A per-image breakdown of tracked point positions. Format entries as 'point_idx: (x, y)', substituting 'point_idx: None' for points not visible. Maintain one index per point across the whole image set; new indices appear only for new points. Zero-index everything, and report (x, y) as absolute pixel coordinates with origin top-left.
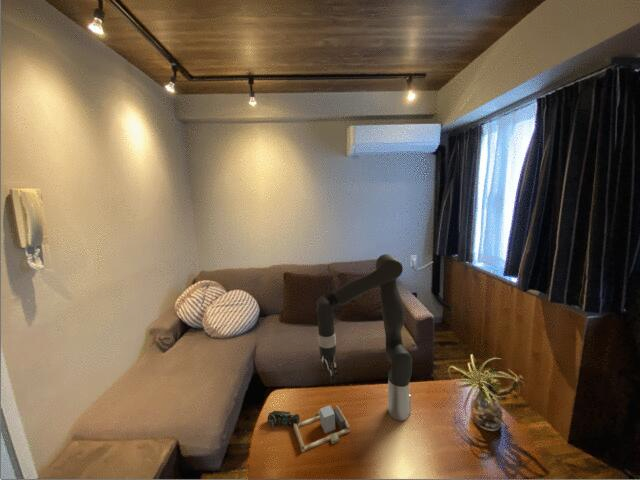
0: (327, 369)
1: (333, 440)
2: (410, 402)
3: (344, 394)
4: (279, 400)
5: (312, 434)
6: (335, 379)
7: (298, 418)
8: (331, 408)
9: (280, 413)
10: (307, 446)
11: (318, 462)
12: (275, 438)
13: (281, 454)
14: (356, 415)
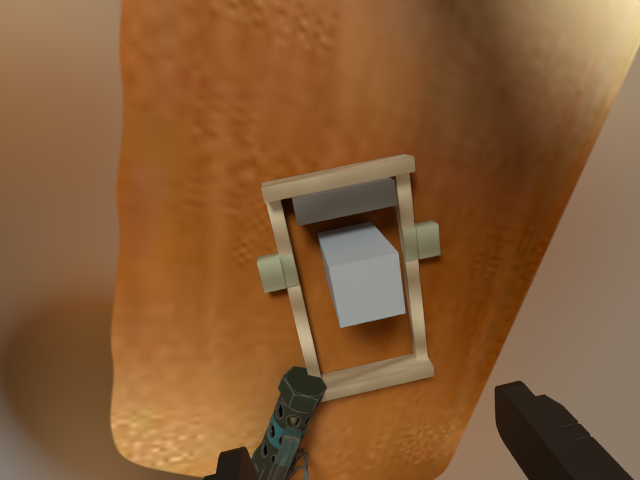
0: (245, 451)
1: (438, 248)
2: None
3: (149, 108)
4: (153, 439)
5: None
6: (578, 432)
7: (302, 385)
8: (356, 263)
9: (284, 472)
10: (421, 347)
11: (480, 310)
12: (343, 440)
13: (408, 420)
14: (322, 86)
